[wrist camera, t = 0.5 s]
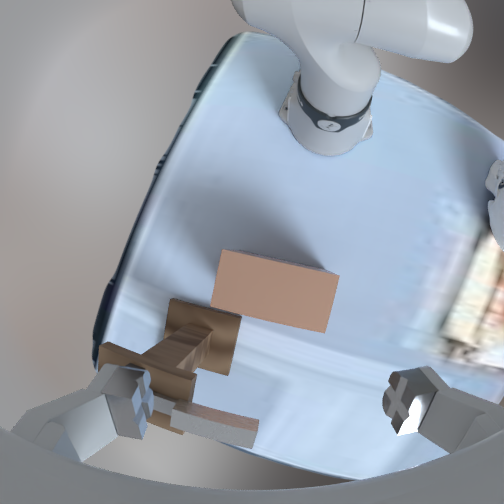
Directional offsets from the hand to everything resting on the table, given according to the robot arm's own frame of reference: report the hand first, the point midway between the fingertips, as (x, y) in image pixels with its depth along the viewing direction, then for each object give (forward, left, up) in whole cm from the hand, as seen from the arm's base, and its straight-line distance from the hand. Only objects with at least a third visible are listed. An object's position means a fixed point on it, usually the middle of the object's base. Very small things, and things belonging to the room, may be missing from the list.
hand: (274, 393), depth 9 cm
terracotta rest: (+1, -1, -45) cm, 45 cm away
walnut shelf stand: (+15, -13, -45) cm, 49 cm away
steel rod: (+15, -7, -19) cm, 25 cm away
